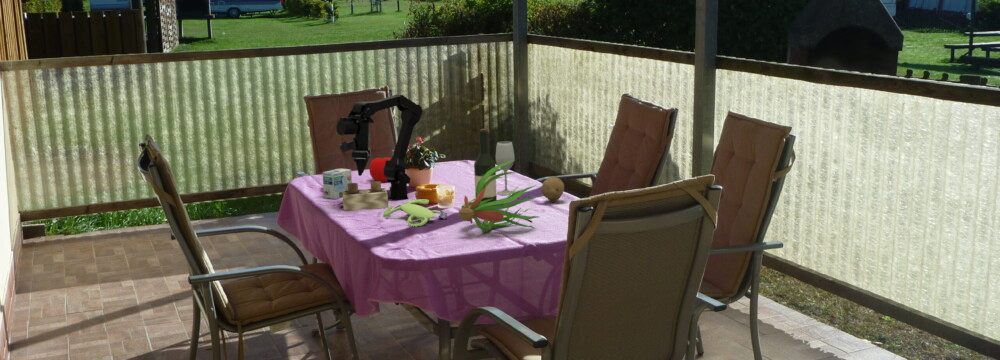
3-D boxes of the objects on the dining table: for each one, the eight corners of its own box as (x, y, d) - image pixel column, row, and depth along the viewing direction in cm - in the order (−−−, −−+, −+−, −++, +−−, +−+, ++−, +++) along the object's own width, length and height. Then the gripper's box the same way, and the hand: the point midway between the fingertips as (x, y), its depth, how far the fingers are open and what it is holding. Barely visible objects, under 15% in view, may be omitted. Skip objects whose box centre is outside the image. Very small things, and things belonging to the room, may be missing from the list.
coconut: (560, 205, 409) (560, 179, 407) (538, 204, 412) (537, 179, 410) (567, 200, 418) (566, 175, 416) (545, 199, 421) (544, 174, 419)
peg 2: (381, 195, 421) (380, 180, 420) (382, 197, 417) (381, 182, 416) (371, 196, 420) (370, 181, 419) (371, 198, 416) (370, 183, 415)
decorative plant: (446, 249, 370) (500, 228, 393) (501, 244, 354) (553, 223, 376) (429, 176, 368) (484, 160, 390) (484, 168, 351) (538, 151, 374)
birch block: (386, 202, 425) (385, 187, 424) (388, 207, 415) (387, 191, 414) (343, 205, 422) (342, 190, 421) (344, 211, 412) (343, 195, 411)
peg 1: (358, 197, 419) (357, 182, 418) (358, 199, 416) (358, 184, 414) (348, 197, 419) (347, 183, 418) (348, 199, 415) (347, 185, 414)
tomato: (365, 183, 466) (364, 158, 464) (377, 177, 479) (376, 153, 477) (390, 184, 463) (389, 159, 461) (402, 178, 475) (400, 154, 473)
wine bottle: (494, 208, 407) (491, 130, 402) (473, 208, 409) (470, 130, 403) (499, 203, 415) (496, 127, 410) (478, 203, 417) (475, 127, 411)
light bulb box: (334, 199, 435) (333, 173, 433) (323, 197, 439) (321, 172, 437) (353, 194, 443) (351, 169, 441) (342, 193, 447) (340, 167, 445)
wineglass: (516, 191, 438) (514, 140, 434) (514, 195, 431) (513, 143, 427) (497, 191, 439) (496, 141, 435) (496, 195, 431) (494, 144, 427)
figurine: (421, 209, 412) (420, 195, 411) (457, 221, 390) (456, 206, 389) (378, 216, 402) (377, 202, 401) (413, 229, 380) (412, 213, 379)
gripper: (342, 132, 424) (342, 171, 426) (338, 135, 406) (337, 176, 408) (371, 133, 425) (370, 171, 427) (368, 136, 407) (367, 177, 408)
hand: (360, 174), depth 418 cm, fingers open, 9 cm apart
